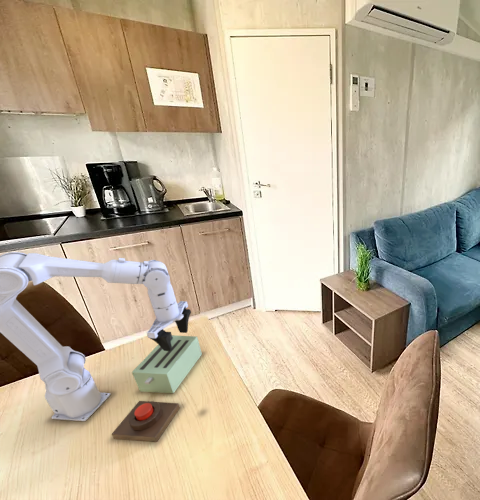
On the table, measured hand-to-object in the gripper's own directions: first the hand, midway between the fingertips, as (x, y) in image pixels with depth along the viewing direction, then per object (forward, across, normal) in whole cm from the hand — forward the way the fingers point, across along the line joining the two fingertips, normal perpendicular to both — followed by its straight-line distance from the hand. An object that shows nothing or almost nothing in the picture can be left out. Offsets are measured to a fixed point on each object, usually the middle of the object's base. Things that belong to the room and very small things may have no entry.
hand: (176, 340), depth 85 cm
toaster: (+10, -2, +2) cm, 11 cm away
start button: (+7, -18, -2) cm, 20 cm away
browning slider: (+3, +3, +5) cm, 6 cm away
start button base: (+10, -18, -2) cm, 21 cm away
